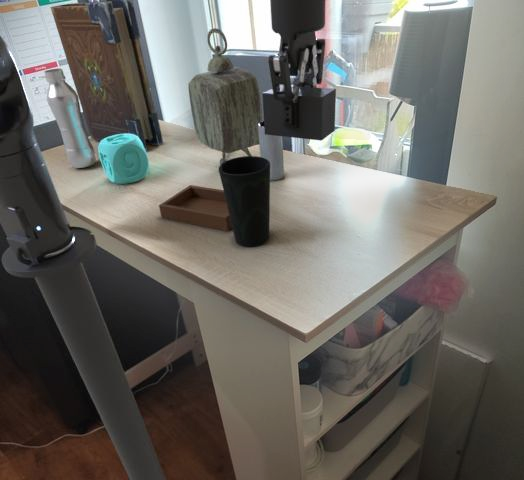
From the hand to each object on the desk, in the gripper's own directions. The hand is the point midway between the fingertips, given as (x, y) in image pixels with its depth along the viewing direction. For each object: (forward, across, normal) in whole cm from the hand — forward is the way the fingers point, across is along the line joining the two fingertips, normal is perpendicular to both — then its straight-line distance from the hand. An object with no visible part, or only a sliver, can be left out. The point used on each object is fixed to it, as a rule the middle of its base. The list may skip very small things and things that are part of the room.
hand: (299, 122), depth 75 cm
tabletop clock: (+15, +16, +25) cm, 34 cm away
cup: (+15, -12, +3) cm, 20 cm away
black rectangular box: (+2, 0, 0) cm, 2 cm away
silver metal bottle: (+16, +4, +59) cm, 62 cm away
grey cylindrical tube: (+15, +12, +12) cm, 23 cm away
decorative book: (+16, +22, +62) cm, 68 cm away
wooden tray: (+15, -7, +15) cm, 22 cm away
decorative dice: (+16, +2, +43) cm, 46 cm away
